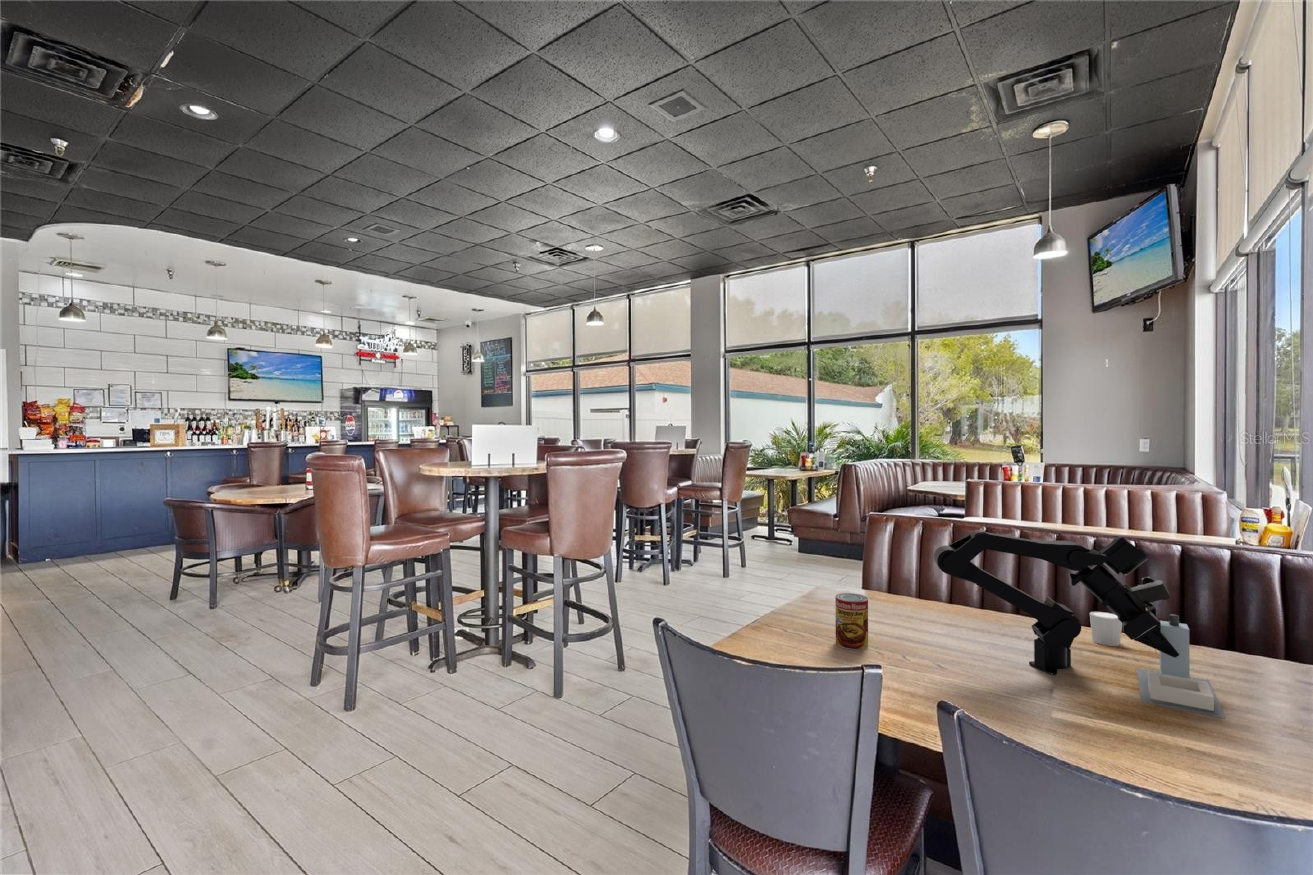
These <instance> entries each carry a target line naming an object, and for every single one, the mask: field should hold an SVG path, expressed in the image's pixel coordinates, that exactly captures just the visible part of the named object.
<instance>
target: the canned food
mask: <svg viewBox="0 0 1313 875" xmlns="http://www.w3.org/2000/svg"><path fill="white" fill-rule="evenodd" d="M835 645H836V646H837V647H840V648H842V649H846V650H851V651H861V650H862V651H863V650H866V649H868V647H869V598H868V596H866V595H863V594H859V593H851V592H848V593H847V592H846V593H845V592H843V593H837V594H836V595H835Z"/></svg>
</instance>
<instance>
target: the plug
mask: <svg viewBox="0 0 1313 875" xmlns="http://www.w3.org/2000/svg"><path fill="white" fill-rule="evenodd" d="M1160 623H1161V632H1162V634H1163V635H1164V636H1165V637H1166V638H1167V640H1168V641H1169V642H1170V643H1171V645H1172V646H1173V647H1174V648H1175V649H1176V651H1177V652H1178V653H1179V656H1177V657H1176V658H1174V657H1172V656H1170V655H1167V654H1165V653H1163V652H1161V651H1159V672H1160V674H1166V675H1172V676H1178V677H1183V678H1189V679H1190V677H1191V676H1190V675H1191V674H1190V666H1191V665H1190V628H1189V626H1188V624H1187V623H1181V622H1180V615H1177V614H1174V613H1173V614H1172V613H1171V614H1168V621H1166V620H1165V621H1164V620H1160Z"/></svg>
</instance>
